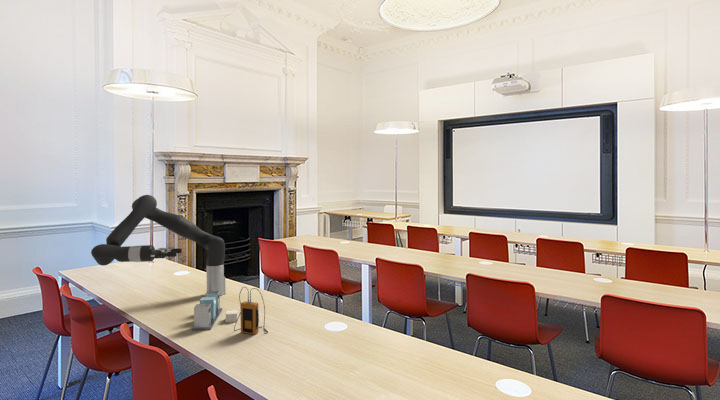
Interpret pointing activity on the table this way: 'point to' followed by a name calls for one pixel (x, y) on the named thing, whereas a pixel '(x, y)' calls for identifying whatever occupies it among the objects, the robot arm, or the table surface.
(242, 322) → the multimeter
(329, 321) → the table surface
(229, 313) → the block
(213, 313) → the block
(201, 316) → the grey u-shaped metal stand
